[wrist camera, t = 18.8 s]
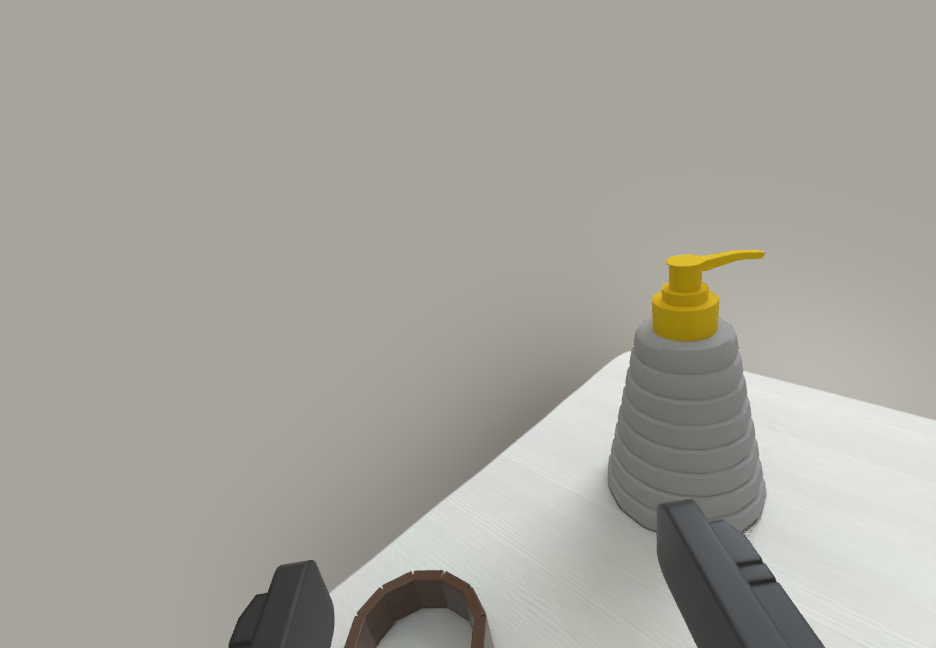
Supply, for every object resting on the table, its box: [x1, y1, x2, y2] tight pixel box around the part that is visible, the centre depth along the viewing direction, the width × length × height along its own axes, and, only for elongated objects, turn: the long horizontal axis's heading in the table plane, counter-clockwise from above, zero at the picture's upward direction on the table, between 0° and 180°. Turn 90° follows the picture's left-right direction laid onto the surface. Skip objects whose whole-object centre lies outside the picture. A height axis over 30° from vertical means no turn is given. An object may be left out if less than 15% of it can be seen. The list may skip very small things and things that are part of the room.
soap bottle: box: [608, 250, 766, 533], centre depth 38 cm, size 12×12×20 cm
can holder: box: [344, 570, 493, 648], centre depth 31 cm, size 9×9×3 cm
